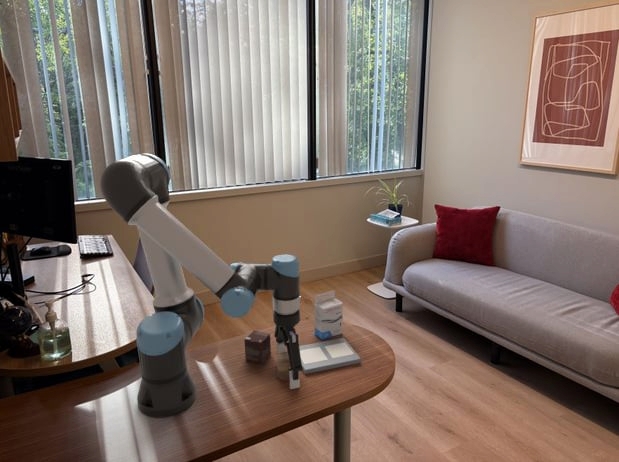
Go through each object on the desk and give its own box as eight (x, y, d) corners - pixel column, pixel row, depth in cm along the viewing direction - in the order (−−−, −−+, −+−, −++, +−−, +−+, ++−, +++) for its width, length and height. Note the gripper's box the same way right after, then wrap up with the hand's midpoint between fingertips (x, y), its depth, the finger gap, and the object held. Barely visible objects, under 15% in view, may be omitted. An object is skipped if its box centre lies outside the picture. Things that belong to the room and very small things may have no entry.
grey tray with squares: (305, 374, 136) (305, 369, 136) (292, 351, 148) (292, 347, 148) (360, 362, 142) (360, 358, 142) (343, 341, 154) (344, 337, 153)
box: (271, 354, 147) (270, 334, 144) (261, 364, 141) (261, 343, 139) (255, 350, 149) (254, 329, 147) (244, 359, 144) (243, 338, 142)
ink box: (322, 340, 154) (322, 300, 150) (314, 334, 158) (314, 295, 154) (342, 333, 159) (343, 294, 155) (334, 327, 163) (334, 289, 159)
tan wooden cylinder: (280, 382, 133) (279, 364, 131) (274, 371, 138) (274, 353, 136) (300, 378, 134) (300, 360, 133) (294, 367, 140) (293, 349, 138)
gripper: (313, 327, 120) (314, 396, 126) (286, 289, 142) (288, 350, 149) (286, 332, 117) (287, 402, 124) (263, 293, 140) (265, 354, 146)
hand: (288, 374), depth 136 cm, fingers open, 13 cm apart
